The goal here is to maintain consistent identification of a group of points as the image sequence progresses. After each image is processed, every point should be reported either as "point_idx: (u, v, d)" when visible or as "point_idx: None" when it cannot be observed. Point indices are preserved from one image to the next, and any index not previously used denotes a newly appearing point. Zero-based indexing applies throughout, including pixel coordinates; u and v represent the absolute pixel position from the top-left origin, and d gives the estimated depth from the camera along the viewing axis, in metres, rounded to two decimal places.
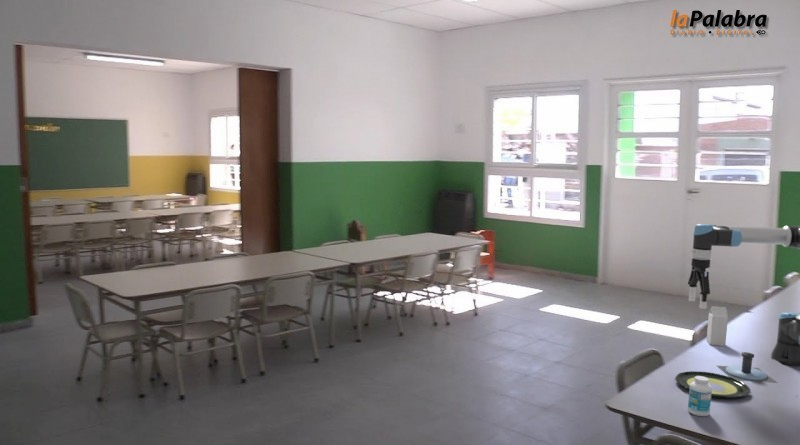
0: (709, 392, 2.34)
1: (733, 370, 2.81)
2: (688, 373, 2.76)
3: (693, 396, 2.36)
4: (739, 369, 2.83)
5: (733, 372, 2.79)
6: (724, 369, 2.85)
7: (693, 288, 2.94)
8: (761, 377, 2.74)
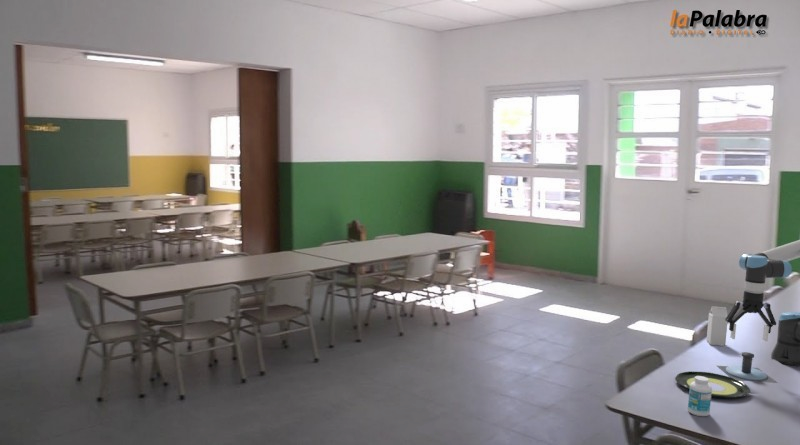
0: (709, 392, 2.34)
1: (733, 370, 2.81)
2: (688, 373, 2.76)
3: (693, 396, 2.36)
4: (739, 369, 2.83)
5: (733, 372, 2.79)
6: (724, 369, 2.85)
7: (765, 326, 2.77)
8: (761, 377, 2.74)
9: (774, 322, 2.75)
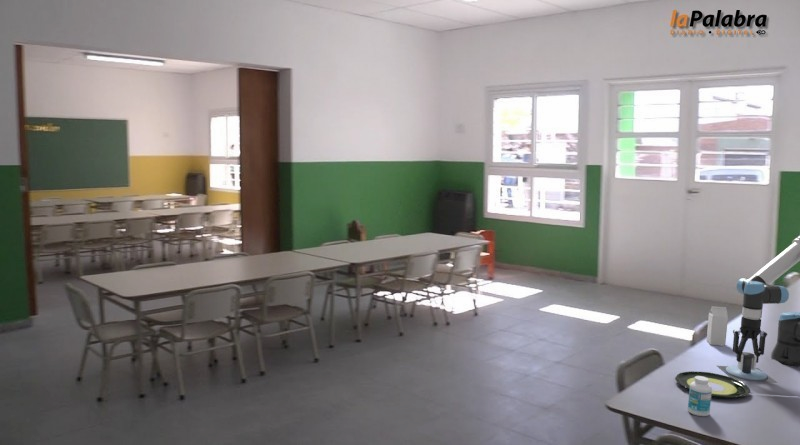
0: (709, 392, 2.34)
1: (733, 370, 2.81)
2: (688, 373, 2.76)
3: (693, 396, 2.36)
4: (739, 369, 2.83)
5: (733, 372, 2.79)
6: (724, 369, 2.85)
7: None
8: (761, 377, 2.74)
9: (762, 352, 2.77)
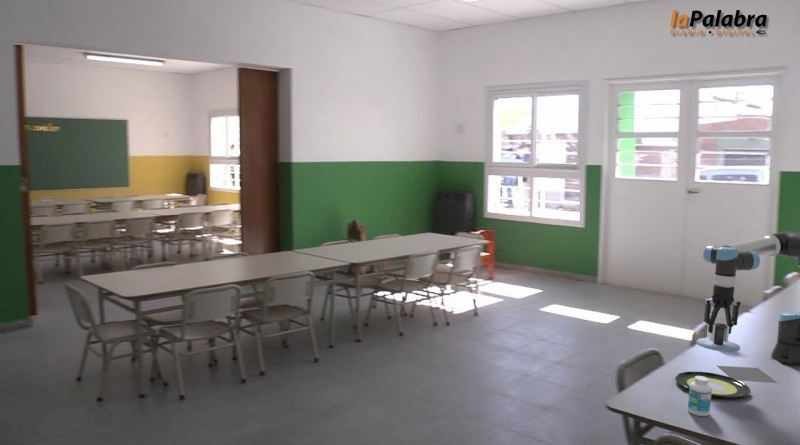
0: (709, 392, 2.34)
1: (704, 342, 2.65)
2: (688, 373, 2.76)
3: (693, 396, 2.36)
4: (711, 341, 2.66)
5: (705, 343, 2.62)
6: (724, 369, 2.85)
7: None
8: (734, 348, 2.57)
9: (735, 322, 2.60)
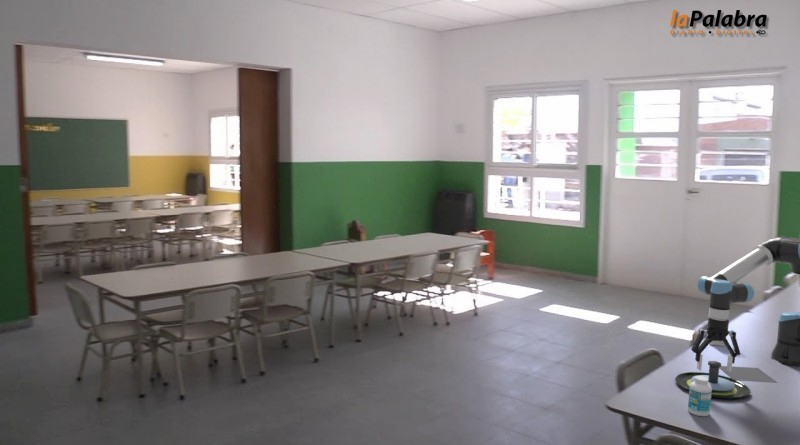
0: (709, 392, 2.34)
1: None
2: (688, 374, 2.76)
3: (693, 396, 2.36)
4: None
5: None
6: (724, 369, 2.85)
7: (729, 356, 2.62)
8: (728, 387, 2.57)
9: (738, 352, 2.60)
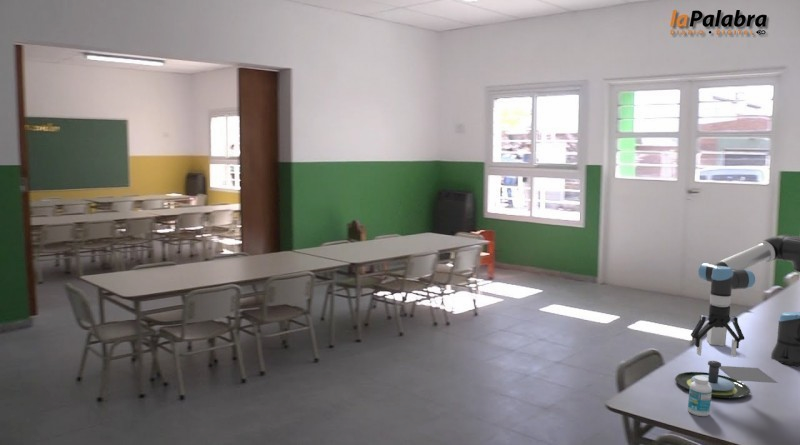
0: (709, 392, 2.34)
1: None
2: (688, 374, 2.76)
3: (693, 396, 2.36)
4: None
5: None
6: (724, 369, 2.85)
7: (733, 341, 2.61)
8: (728, 387, 2.57)
9: (742, 337, 2.59)
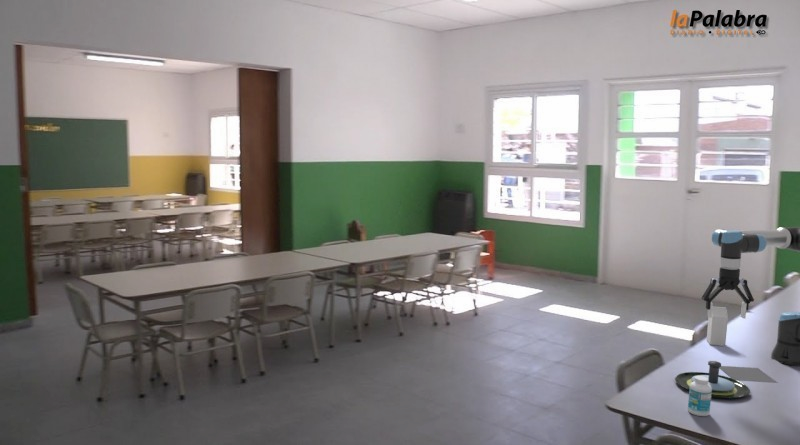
0: (709, 392, 2.34)
1: None
2: (688, 374, 2.76)
3: (693, 396, 2.36)
4: None
5: None
6: (724, 369, 2.85)
7: (743, 303, 2.67)
8: (728, 388, 2.57)
9: (751, 298, 2.66)
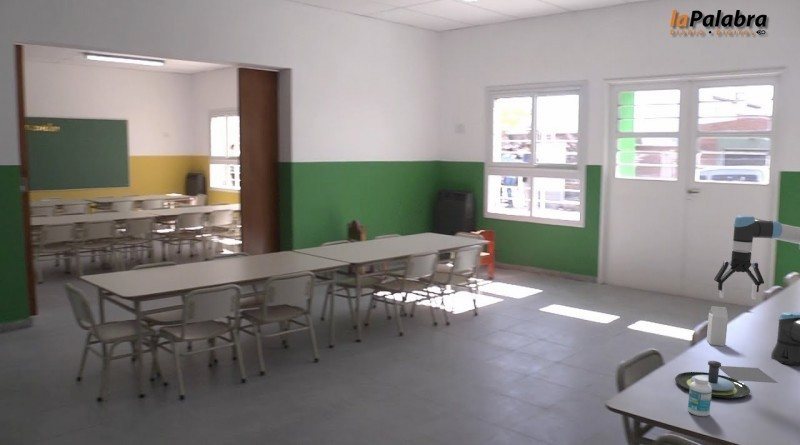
0: (709, 392, 2.34)
1: None
2: (688, 374, 2.76)
3: (693, 396, 2.36)
4: None
5: None
6: (724, 369, 2.85)
7: (753, 285, 2.81)
8: (728, 387, 2.57)
9: (762, 281, 2.79)
